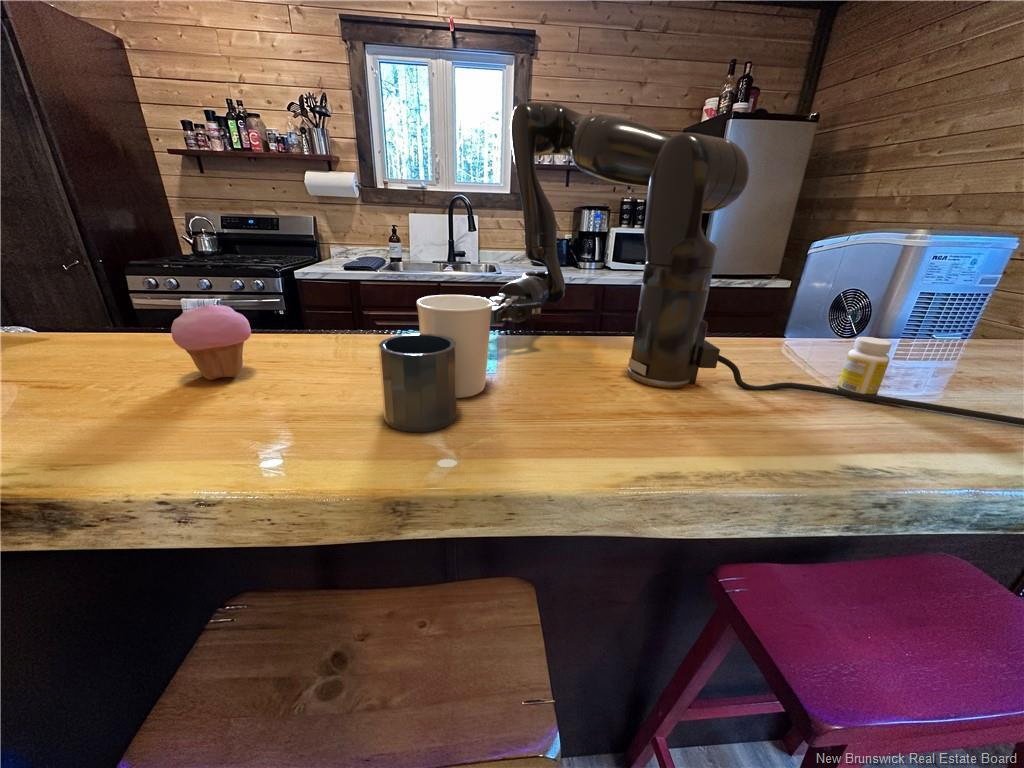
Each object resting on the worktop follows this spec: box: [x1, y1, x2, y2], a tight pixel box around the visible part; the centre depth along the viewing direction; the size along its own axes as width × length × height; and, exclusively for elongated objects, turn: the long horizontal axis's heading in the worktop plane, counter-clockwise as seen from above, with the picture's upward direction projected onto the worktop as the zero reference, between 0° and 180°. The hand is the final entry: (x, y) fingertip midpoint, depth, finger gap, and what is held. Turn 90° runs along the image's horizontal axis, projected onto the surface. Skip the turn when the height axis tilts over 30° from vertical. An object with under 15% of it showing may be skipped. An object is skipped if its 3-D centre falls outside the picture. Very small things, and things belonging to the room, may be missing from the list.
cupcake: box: [170, 304, 252, 381], centre depth 59 cm, size 9×9×10 cm
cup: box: [378, 333, 458, 433], centre depth 51 cm, size 8×8×9 cm
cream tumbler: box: [416, 294, 493, 399], centre depth 59 cm, size 10×10×12 cm
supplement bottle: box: [836, 336, 893, 401], centre depth 63 cm, size 5×5×8 cm
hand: (490, 316), depth 70 cm, fingers closed
